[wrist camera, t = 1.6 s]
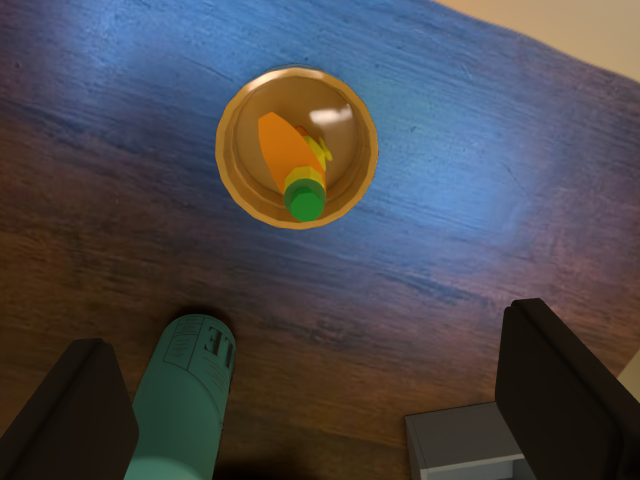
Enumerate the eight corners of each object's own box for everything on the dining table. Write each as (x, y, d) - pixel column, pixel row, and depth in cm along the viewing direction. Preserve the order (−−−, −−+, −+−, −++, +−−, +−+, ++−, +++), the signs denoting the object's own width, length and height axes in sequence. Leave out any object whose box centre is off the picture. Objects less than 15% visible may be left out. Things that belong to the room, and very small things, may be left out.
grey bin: (518, 397, 44) (550, 449, 38) (515, 475, 48) (544, 531, 43) (404, 416, 44) (419, 470, 38) (412, 492, 48) (428, 549, 43)
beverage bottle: (150, 340, 39) (20, 609, 20) (190, 286, 37) (87, 530, 18) (215, 374, 40) (149, 649, 22) (256, 324, 39) (222, 581, 20)
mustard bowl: (356, 51, 30) (368, 53, 25) (373, 191, 34) (385, 215, 30) (210, 77, 30) (195, 84, 26) (244, 213, 34) (237, 240, 30)
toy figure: (250, 108, 31) (226, 147, 20) (295, 82, 30) (296, 107, 19) (298, 190, 33) (300, 264, 22) (340, 167, 33) (363, 232, 22)
